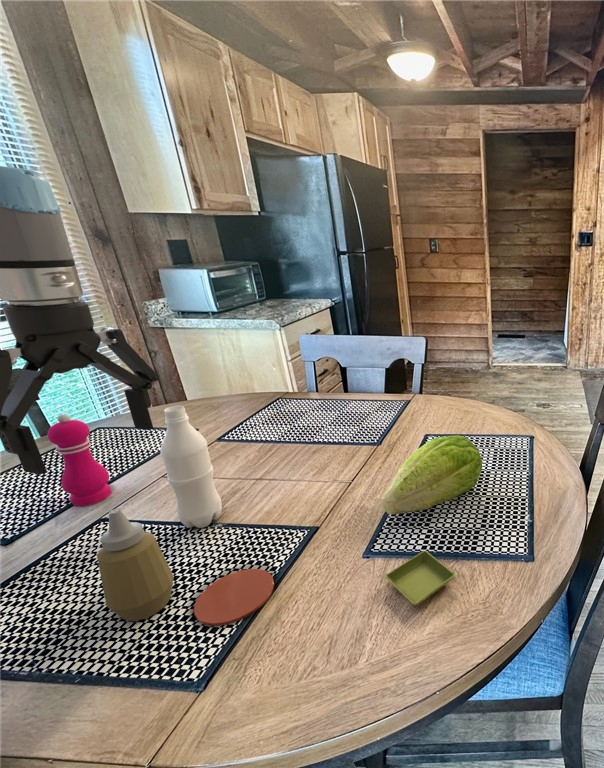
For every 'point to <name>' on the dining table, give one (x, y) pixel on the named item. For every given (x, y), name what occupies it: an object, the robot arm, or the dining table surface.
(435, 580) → the green square tray
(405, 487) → the lettuce
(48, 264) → the robot arm
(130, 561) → the squeeze bottle
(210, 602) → the coaster
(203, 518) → the water bottle
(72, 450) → the pepper mill
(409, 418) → the dining table surface
